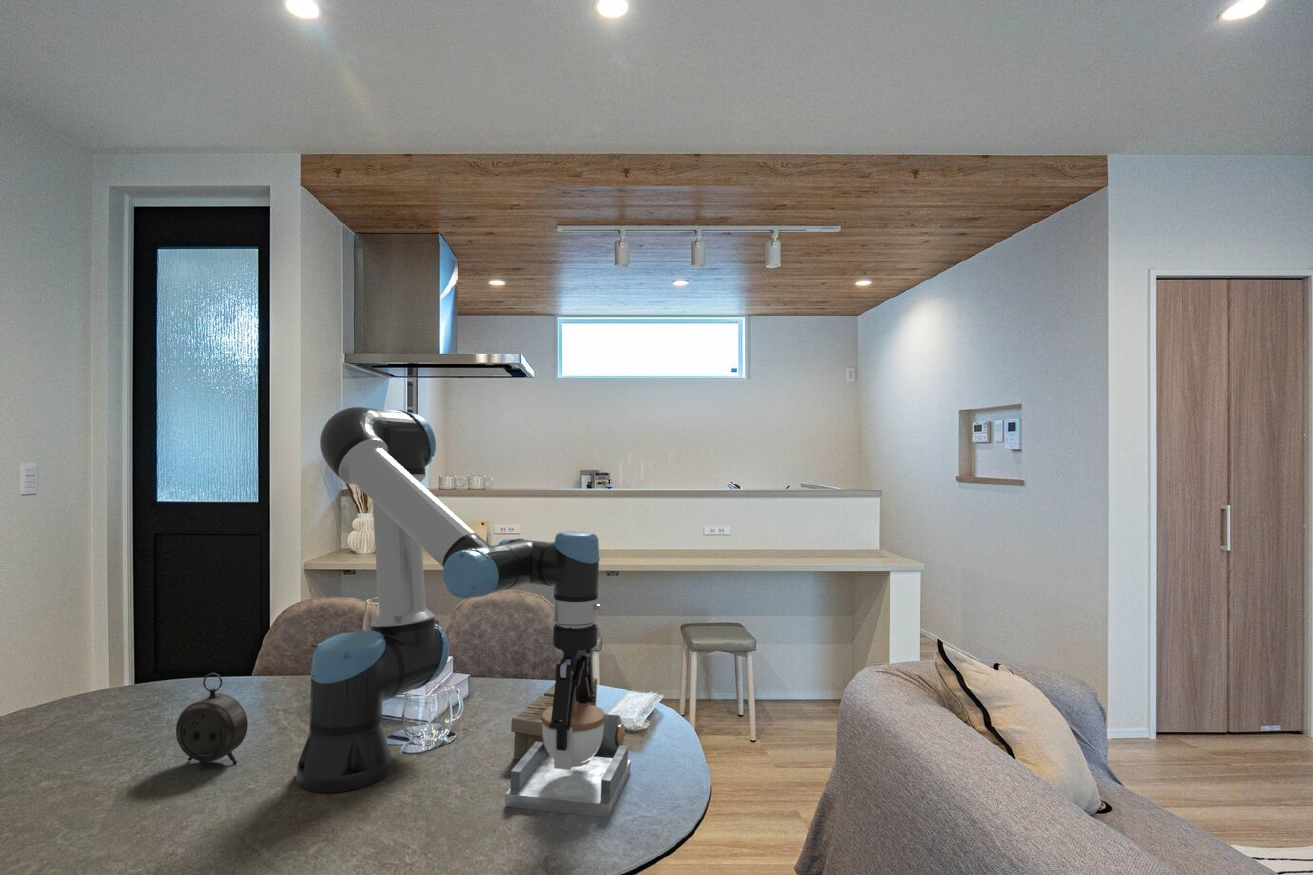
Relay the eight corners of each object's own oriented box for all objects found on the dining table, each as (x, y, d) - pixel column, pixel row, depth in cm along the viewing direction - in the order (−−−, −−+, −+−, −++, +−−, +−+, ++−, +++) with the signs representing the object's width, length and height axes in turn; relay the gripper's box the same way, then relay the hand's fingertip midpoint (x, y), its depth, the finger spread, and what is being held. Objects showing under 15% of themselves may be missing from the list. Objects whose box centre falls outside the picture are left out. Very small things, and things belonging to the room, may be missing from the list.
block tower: (563, 713, 161) (508, 762, 132) (564, 674, 161) (509, 715, 133) (597, 716, 159) (548, 766, 130) (598, 677, 159) (550, 719, 131)
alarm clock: (247, 760, 130) (251, 669, 130) (227, 773, 124) (231, 679, 125) (190, 757, 131) (194, 667, 131) (168, 770, 125) (172, 676, 126)
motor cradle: (505, 806, 115) (506, 762, 115) (556, 740, 142) (557, 704, 142) (608, 817, 112) (610, 772, 112) (641, 748, 139) (641, 711, 140)
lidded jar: (593, 776, 116) (595, 717, 116) (530, 769, 118) (532, 711, 118) (611, 750, 126) (612, 696, 127) (553, 744, 128) (554, 691, 129)
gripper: (578, 641, 111) (575, 786, 110) (612, 610, 134) (609, 730, 133) (531, 638, 112) (528, 781, 111) (572, 608, 135) (570, 727, 134)
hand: (572, 753), depth 122 cm, fingers closed on lidded jar, 11 cm apart
